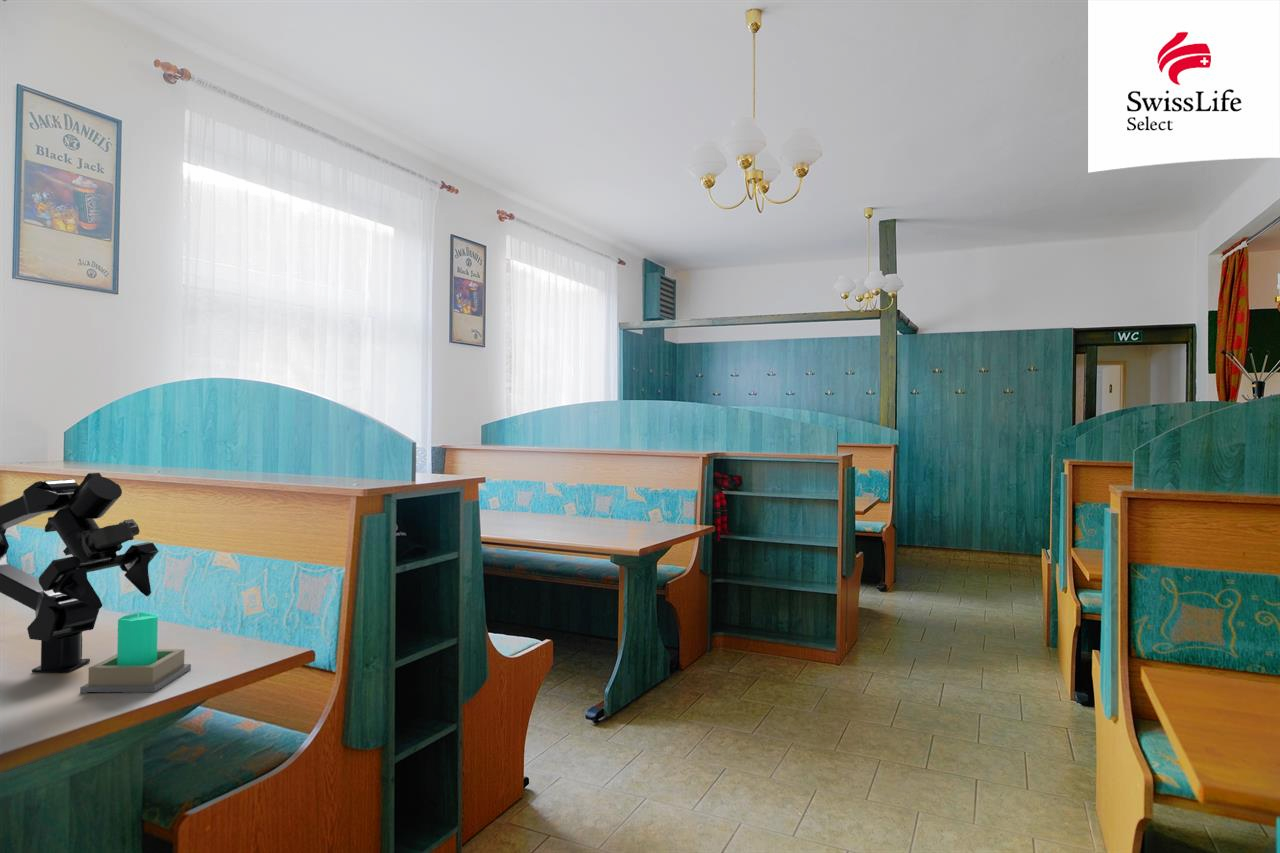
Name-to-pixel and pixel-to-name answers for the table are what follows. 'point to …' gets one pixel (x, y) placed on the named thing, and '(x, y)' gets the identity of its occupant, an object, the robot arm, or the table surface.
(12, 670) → the table surface
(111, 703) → the table surface
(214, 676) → the table surface
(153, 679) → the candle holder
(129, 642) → the candle
